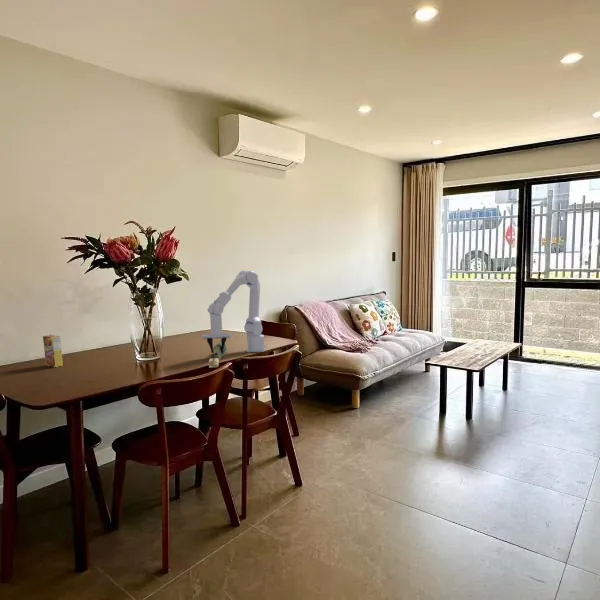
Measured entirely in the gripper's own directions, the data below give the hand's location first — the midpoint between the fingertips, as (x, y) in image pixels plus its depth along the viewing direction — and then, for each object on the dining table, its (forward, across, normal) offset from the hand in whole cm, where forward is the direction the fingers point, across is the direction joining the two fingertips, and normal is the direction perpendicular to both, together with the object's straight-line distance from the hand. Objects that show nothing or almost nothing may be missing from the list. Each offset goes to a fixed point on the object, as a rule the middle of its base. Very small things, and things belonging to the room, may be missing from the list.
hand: (217, 352), depth 237 cm
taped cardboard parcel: (+3, 0, 0) cm, 3 cm away
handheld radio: (+3, +2, 0) cm, 3 cm away
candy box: (+3, -80, -3) cm, 80 cm away
